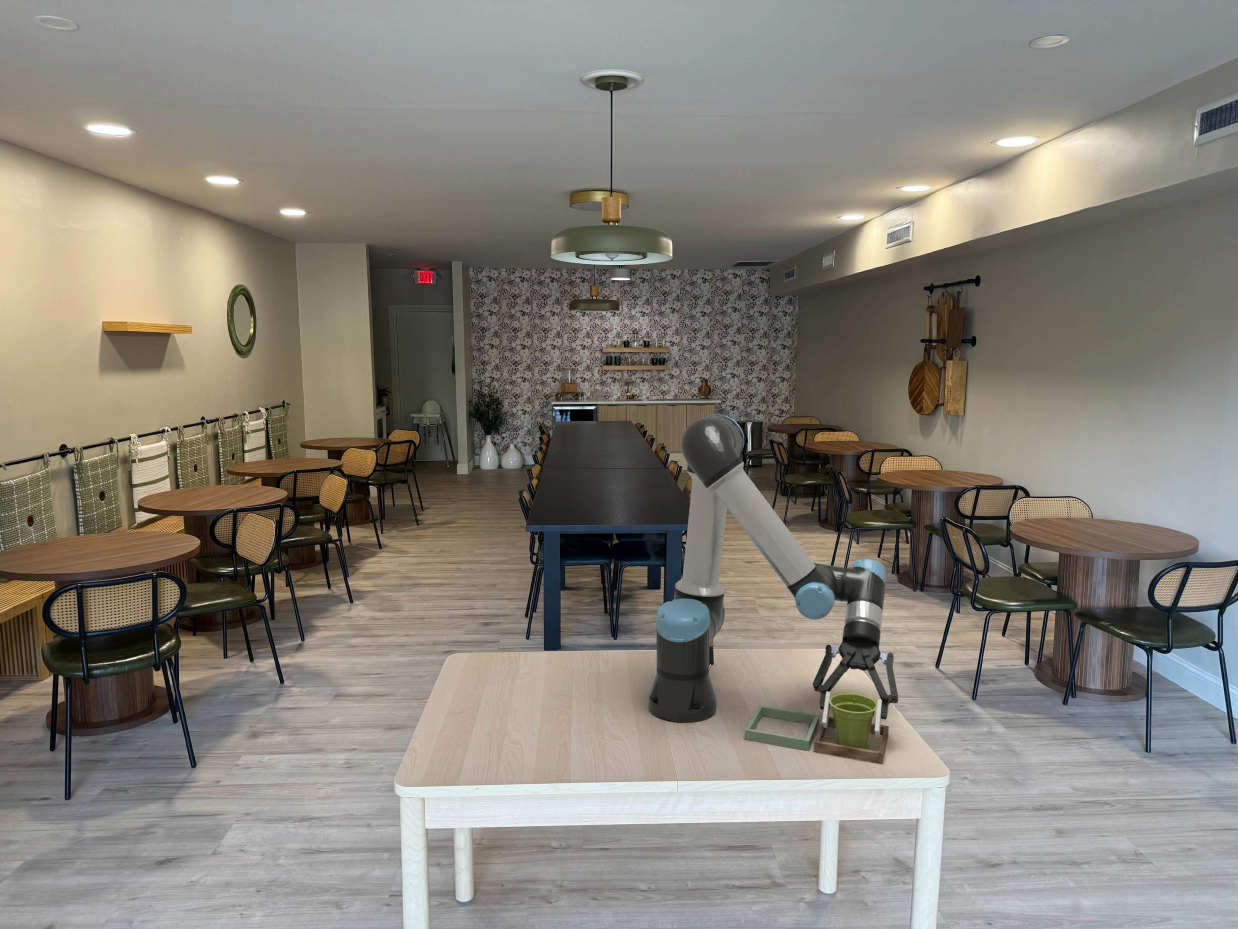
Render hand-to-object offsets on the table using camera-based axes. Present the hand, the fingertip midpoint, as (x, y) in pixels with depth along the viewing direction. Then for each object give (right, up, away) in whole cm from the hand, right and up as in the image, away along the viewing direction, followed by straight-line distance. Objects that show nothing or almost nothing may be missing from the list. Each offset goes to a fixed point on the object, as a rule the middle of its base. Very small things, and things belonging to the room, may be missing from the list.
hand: (850, 729), depth 159 cm
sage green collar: (-12, -3, +9) cm, 15 cm away
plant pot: (+1, -4, +3) cm, 6 cm away
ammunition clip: (-27, +1, +47) cm, 54 cm away
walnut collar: (+1, -4, +3) cm, 5 cm away
